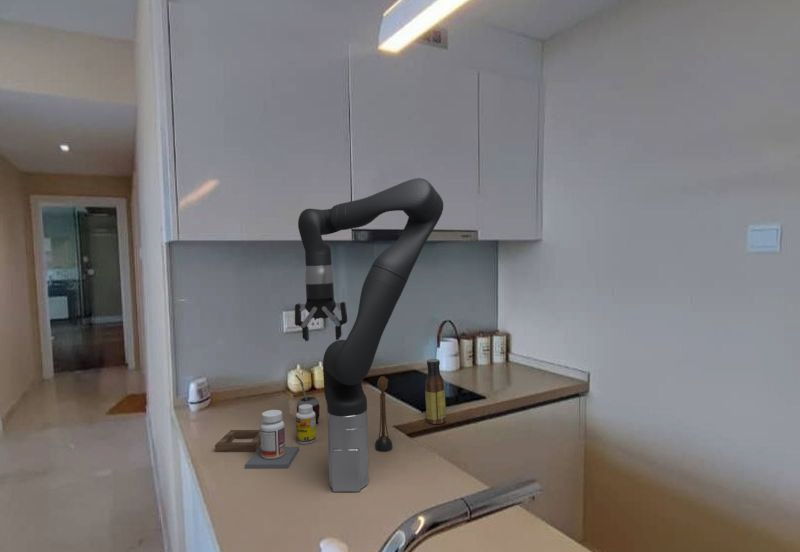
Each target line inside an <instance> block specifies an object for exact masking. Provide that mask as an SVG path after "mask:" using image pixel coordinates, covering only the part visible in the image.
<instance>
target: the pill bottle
mask: <svg viewBox="0 0 800 552" xmlns="http://www.w3.org/2000/svg"><path fill="white" fill-rule="evenodd" d="M261 422H262V423H261V424H260V428H259V430H260V436H261V445H260V447H261V455H262V457H263V458H265V459H276V458H280V457H282V456H283V455H284V454H285V447H286V435H285V433H286V432H285V431H286V429H285V422H284V421H283V412H282V410H280V409H269V410H266V411H264V412H262V413H261Z"/></svg>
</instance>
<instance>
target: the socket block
mask: <svg viewBox="0 0 800 552" xmlns="http://www.w3.org/2000/svg"><path fill="white" fill-rule="evenodd" d="M249 439H250V440H251V439H252V440H251V441H248V442H243V441H242V442H241V441H239V442H238V441H237V442H235V441H234V440H249ZM259 447H261V436H260V429H231V430H229V431H228V432H227V433H226V434H225V435H224V436H223V437H222V438H220V439H219V441H218V442H216V443H215V445H214V449H215V450H214V451H215V453H255V452H256V450H257V449H258V448H259Z"/></svg>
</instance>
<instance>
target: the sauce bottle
mask: <svg viewBox="0 0 800 552" xmlns="http://www.w3.org/2000/svg"><path fill="white" fill-rule="evenodd" d="M440 362H441V361H440V359H437V358H431V359H426V365H427V375H426V378H425V379H424V393H425V394H424V395H425V396H424V397H425V412H426V413H425V414H426V421H427V422H428V423H429V424H430V425H441V424H445V422H446V421H447V411H446V410H447V409H446V393H445V392H446V391H445V383H444V378H443V376H442V375H441V371H440V366H441V365H440V364H441V363H440Z"/></svg>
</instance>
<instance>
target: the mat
mask: <svg viewBox="0 0 800 552" xmlns="http://www.w3.org/2000/svg"><path fill="white" fill-rule="evenodd" d="M299 451H300V447H299V446H285V454H284V455H283V456H282V457H280V458H276V459H265V458H263V457H262V455H261V446H259V447H258V449H257V450H256V451H255V452H253V454H252V455H251V457H250V458H249V459H248V460H247V461H246V462H245V464H244V469H289V468H290V466H291V464H292V463H293V461H294V460H295V458H296V456H297V454H298V453H299Z"/></svg>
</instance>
